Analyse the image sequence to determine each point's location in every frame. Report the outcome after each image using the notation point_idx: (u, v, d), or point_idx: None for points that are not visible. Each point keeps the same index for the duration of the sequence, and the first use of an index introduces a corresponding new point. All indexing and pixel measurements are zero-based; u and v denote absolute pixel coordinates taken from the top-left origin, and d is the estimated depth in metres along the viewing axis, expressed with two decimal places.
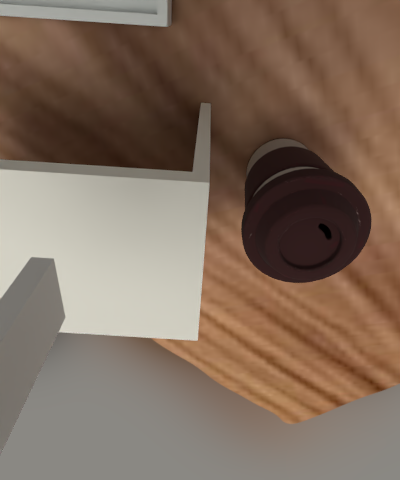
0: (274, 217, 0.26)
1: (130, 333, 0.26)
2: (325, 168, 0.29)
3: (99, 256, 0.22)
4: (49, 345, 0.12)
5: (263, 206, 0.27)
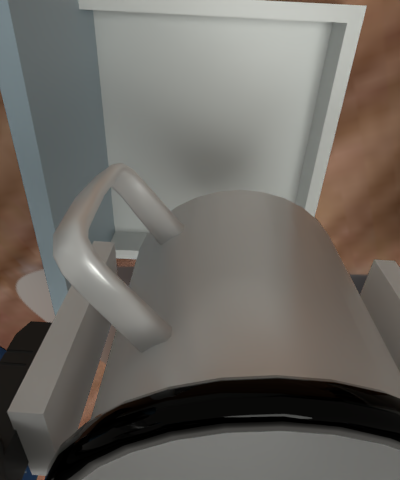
0: None
1: None
2: None
3: None
4: None
5: None
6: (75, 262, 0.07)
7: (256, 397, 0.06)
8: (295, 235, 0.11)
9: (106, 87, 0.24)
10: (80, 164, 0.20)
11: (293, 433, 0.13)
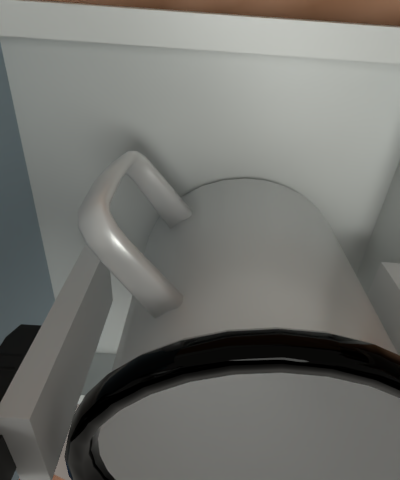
0: None
1: None
2: None
3: None
4: (102, 324, 0.13)
5: None
6: (99, 233, 0.08)
7: (259, 343, 0.06)
8: (295, 218, 0.12)
9: (34, 157, 0.14)
10: None
11: (294, 408, 0.14)
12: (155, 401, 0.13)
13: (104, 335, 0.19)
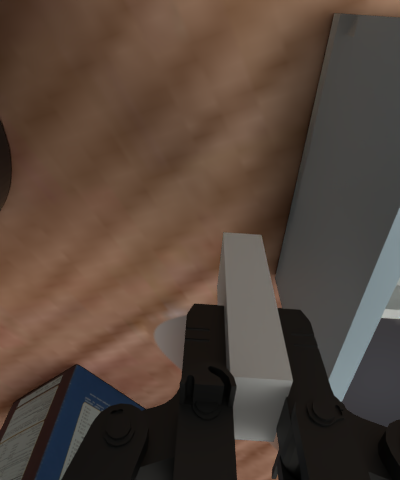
0: None
1: None
2: None
3: None
4: None
5: None
6: None
7: None
8: None
9: None
10: None
11: None
12: None
13: None
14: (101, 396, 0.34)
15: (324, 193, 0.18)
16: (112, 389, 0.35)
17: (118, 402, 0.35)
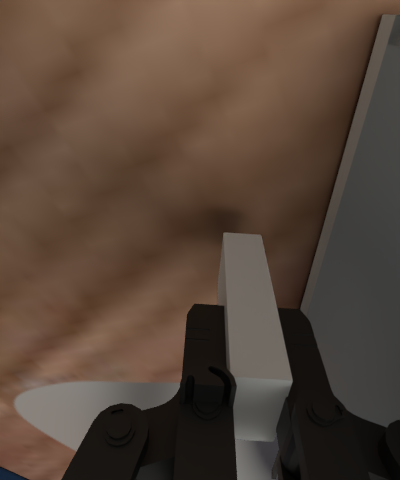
0: None
1: None
2: None
3: None
4: None
5: None
6: None
7: None
8: None
9: None
10: None
11: None
12: None
13: None
14: None
15: (370, 287, 0.12)
16: None
17: None
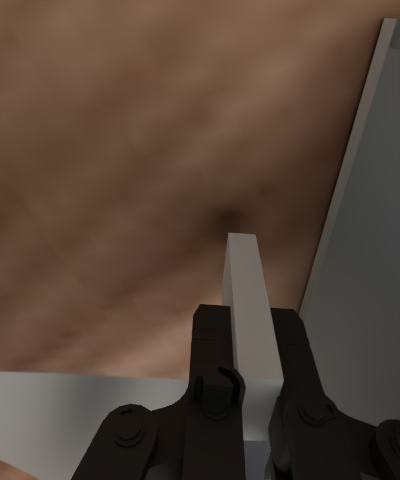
0: None
1: None
2: None
3: None
4: None
5: None
6: None
7: None
8: None
9: None
10: None
11: None
12: None
13: None
14: None
15: (367, 291, 0.12)
16: None
17: None
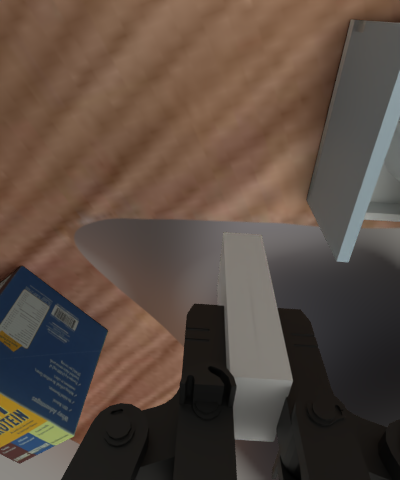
0: None
1: None
2: None
3: None
4: None
5: None
6: None
7: None
8: None
9: None
10: None
11: None
12: None
13: None
14: (40, 289, 0.46)
15: (344, 125, 0.30)
16: (49, 287, 0.48)
17: (53, 296, 0.47)
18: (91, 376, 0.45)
